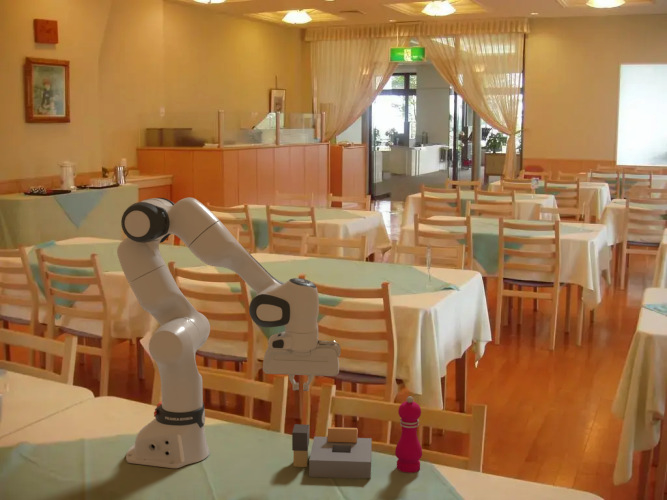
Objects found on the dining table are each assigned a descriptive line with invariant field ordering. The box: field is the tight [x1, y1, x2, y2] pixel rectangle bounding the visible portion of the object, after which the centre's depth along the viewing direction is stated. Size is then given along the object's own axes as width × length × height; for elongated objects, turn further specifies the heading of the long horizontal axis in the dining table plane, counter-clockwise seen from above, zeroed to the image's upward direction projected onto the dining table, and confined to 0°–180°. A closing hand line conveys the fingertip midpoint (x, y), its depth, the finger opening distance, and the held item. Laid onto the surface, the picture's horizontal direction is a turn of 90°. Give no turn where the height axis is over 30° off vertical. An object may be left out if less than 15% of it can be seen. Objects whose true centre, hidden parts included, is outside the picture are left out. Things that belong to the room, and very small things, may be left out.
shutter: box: [327, 426, 359, 443], centre depth 226 cm, size 8×8×4 cm
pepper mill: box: [394, 395, 423, 474], centre depth 216 cm, size 7×7×20 cm
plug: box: [291, 423, 310, 468], centre depth 219 cm, size 4×6×10 cm, turn 177°
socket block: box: [308, 436, 373, 480], centre depth 218 cm, size 16×16×5 cm
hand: (300, 390), depth 216 cm, fingers closed
